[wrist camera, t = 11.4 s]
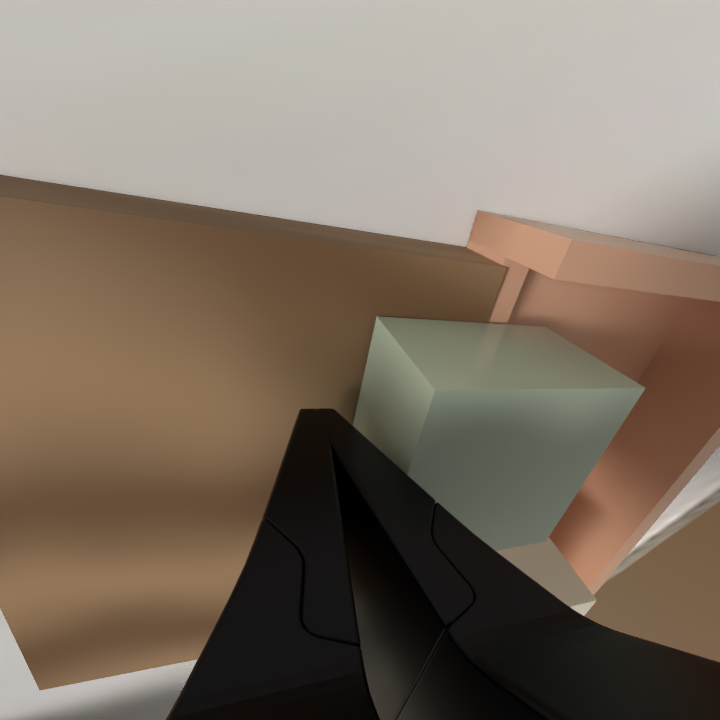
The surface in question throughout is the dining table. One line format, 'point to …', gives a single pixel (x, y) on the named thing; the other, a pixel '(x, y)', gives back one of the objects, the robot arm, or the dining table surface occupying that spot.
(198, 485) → the board
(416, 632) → the robot arm
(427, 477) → the sage green square block
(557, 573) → the ivory rectangular block
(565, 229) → the tray
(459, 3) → the dining table surface
